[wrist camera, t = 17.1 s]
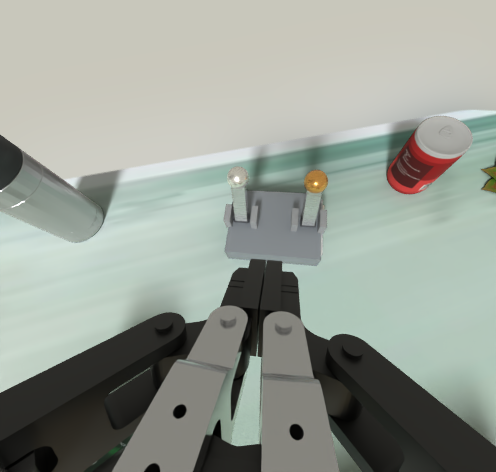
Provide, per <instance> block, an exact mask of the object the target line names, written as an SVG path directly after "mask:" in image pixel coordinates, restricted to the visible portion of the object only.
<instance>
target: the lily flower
mask: <svg viewBox="0 0 496 472" xmlns="http://www.w3.org/2000/svg"><path fill="white" fill-rule="evenodd" d="M481 170H483V171H484V172H486V173H488V174H489V175H490V176H492V177H493V178H492V179H491V180H489V181H488V183H487V184H486V185H485V188H483V189H482V190H487V191H491V192H495V193H496V167H492V168H487V169H486V170H485V169H481Z"/></svg>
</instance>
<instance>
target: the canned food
mask: <svg viewBox="0 0 496 472" xmlns="http://www.w3.org/2000/svg"><path fill="white" fill-rule="evenodd" d="M472 140H473V137H472V133H471V131H470V129H469V128H468V127H467V126H466V125H465V124H464V123H462V122H461V121H459V120H457V119H455V118H452V117H447V116H434V117H431V118H428V119H426V120H424V121H423V122H422V123H421V124H420V125H419V126H418V127H417V129H416V130H415V131H414V133H413V134H412V135H411V137H410V138H409V140H408V141H407V142H406V144H405V145H404V147H403V148H402V150H401V151H400V152H399V154H398V155H397V157H396V158H395V159H394V161H393V162H392V164H391V165H390V167H389V169H388V172H387V180H388V182H389V184H390V185H391V187H392V188H393V189H395V190H396V191H398V192H400V193H404V194H415V193H418V192H421V191H423V190H425V189H426V188H427V187H428V186H429V185H430V184H432V183H433V182H434V181H435V180H436V179H437V178H438V177H439V176H440V175H441V174H443V173H444V172H445V171H446V170H447V169H448V168H449V167H450V166H451V165H452V164H454V163H455V162H456V161H457V160H458V159H459V158H460V157H461V156H462V155H463V154H464V153H465V152H466V151H467V150H468V149H469V148H470V146H471V144H472Z"/></svg>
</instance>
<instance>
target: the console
mask: <svg viewBox="0 0 496 472" xmlns="http://www.w3.org/2000/svg"><path fill="white" fill-rule="evenodd" d="M305 195H306V193H290V192H270V191H249V190H247V198H248V213H250V220H249V223H239V222H234V206H233V202H232V205H231V204H226V208H225V214H224V223H225V225H226V227H229V228H228V234H227V240H226V247H225V253H226V254H227V256H228V258H232V259H243V260H251V258H252V259H263V260H266V262H267V260H276V261H282V263H289V264H300V265H312V266H317V265H318V263H319V262H320V260H321V256H322V254H323V234H324V232H325V230H326V228H327V210H324V205H323V200H320V204H319V208H318V213H317V217H316V227H315V228H314V227H300V217H301V216H302V213H303V207H304V201H305Z"/></svg>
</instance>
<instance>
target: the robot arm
mask: <svg viewBox="0 0 496 472" xmlns="http://www.w3.org/2000/svg"><path fill="white" fill-rule="evenodd" d="M0 211H1V212H3V213H5V214H7V215H10V216H12V217H14V218H17V219H19V220H21V221H23V222H26V223H28V224H30V225H33V226H35V227H37V228H39V229H42V230H44V231H46V232H49V233H51V234H53V235H55V236H58V237H60V238H62V239H64V240H67V241H69V242H75V243H77V242H82V241H85V240H87V239H89V238H90V237H92V236H93V235H94V234H95V233H96V232H97V231H98V230H99V228H100V227H101V225H102V222H103V211H102V209H101V207H100V206H99V205H98V204H96V203H95V202H93V201H92V200H91V199H89V198H88V197H86V196H85V195H84V194H82V193H81V192H80V191H78V190H77V189H75V188H74V187H73V186H71V185H70V184H68V183H67V182H66V181H64V180H63V179H61V178H60V177H59V176H57V175H56V174H54V173H53V172H52V171H50V170H49V169H47V168H46V167H45V166H43V165H42V164H40V163H39V162H38V161H36V160H35V159H33V158H32V157H31V156H29V155H28V154H26V153H25V152H24V151H22V150H21V149H19V148H18V147H17V146H15V145H14V144H12V143H11V142H10V141H8V140H7V139H5V138H4V137H3V136H1V135H0ZM257 345H258V357H262V359H261V378H260V416H259V444H255V445H247V446H234V445H231V442H232V434H233V428H234V424H235V420H236V416H237V412H238V408H239V403H240V399H241V395H242V391H243V387H244V383H245V379H246V375H247V368H248V365H249V359H250V356H256V352H257ZM149 367H150V369H149V370H148V371H146V372H144V373H143V374H141V375H140V376H138V377H136V378H135V379H133V380H132V381H130V382H129V383H127V384H125V385H124V386H122V387H121V388H119V389H117V390H116V391H114V392H113V393H111V394H109V393H110V392H111V391H113V390H114V389H115V388H117V387H119V386H120V385H122V384H123V383H125V382H127V381H128V380H130V379H131V378H133V377H135V376H136V375H138V374H139V373H141V372H143V371H144V370H146V369H147V368H149ZM331 431H332V432H333V434H334V435H335V436H336V438H337V439H338V440H339V441H340V443H341V444H342V445H343V447H344V448H345V449H346V451H347V452H348V453H349V455H350V456H351V457H352V458H353V460H354V461H355V462H356V464H357V465H358V466H359V468H360V469H361V470H362V472H496V447H495V446H494V445H493V444H492V443H490V442H489V441H488V440H487V439H485V438H484V437H483V436H482V435H480V434H479V433H478V432H477V431H475V430H474V429H473V428H472V427H471V426H469V425H468V424H467V423H466V422H464V421H463V420H462V419H461V418H459V417H458V416H457V415H456V414H454V413H453V412H452V411H451V410H449V409H448V408H447V407H446V406H444V405H443V404H442V403H441V402H439V401H438V400H437V399H436V398H434V397H433V396H432V395H431V394H429V393H428V392H427V391H426V390H425V389H423V388H422V387H421V386H420V385H418V384H417V383H416V382H415V381H413V380H412V379H411V378H410V377H408V376H407V375H406V374H405V373H403V372H402V371H401V370H400V369H398V368H397V367H396V366H395V365H393V364H392V363H391V362H390V361H388V360H387V359H386V358H385V357H383V356H382V355H381V354H380V353H378V352H377V351H376V350H375V349H374V348H372V347H371V346H370V345H369V344H367V343H366V342H365V341H363V340H362V339H360V338H358V337H355V336H352V335H348V334H339V335H335V336H333V337H332V338H331V339H330V341H329V340H327V339H324V338H321V337H319V336H317V335H315V334H313V333H311V332H310V331H309V330H307V329H306V328H305V326H304V325H303V323H302V321H301V316H300V303H299V289H298V279H297V277H296V276H295V275H294V273H293V272H283V271H282V261H276V260H267V265H266V260H263V259H252V258H251V261H250V264H249V268H238V269H237V270H236V271H235V272H234V273H233V274H232V277H231V280H230V282H229V285H228V288H227V290H226V293H225V295H224V298H223V301H222V303H221V306H220V307H219V308H217V309H215V310H214V311H213V312H212V313H211V314H210V316H209V318H208V319H207V320H204V321H200V322H193V323H186V324H185V320H184V318H183V317H182V316H181V315H179V314H177V313H162V314H159V315H157V316H154V317H152V318H150V319H148V320H146V321H144V322H142V323H140V324H138V325H136V326H134V327H132V328H130V329H128V330H126V331H124V332H122V333H120V334H118V335H116V336H114V337H112V338H110V339H108V340H106V341H104V342H102V343H100V344H98V345H96V346H94V347H92V348H90V349H88V350H86V351H84V352H82V353H80V354H78V355H76V356H74V357H72V358H70V359H68V360H66V361H64V362H62V363H60V364H58V365H56V366H54V367H52V368H50V369H48V370H46V371H44V372H42V373H40V374H38V375H36V376H33V377H31V378H29V379H27V380H25V381H23V382H21V383H19V384H17V385H15V386H13V387H11V388H9V389H7V390H5V391H3V392H1V393H0V472H83V471H84V470H86V469H87V468H88V467H90V466H91V465H92V464H93V463H95V462H96V461H97V460H99V459H100V458H101V457H103V456H104V455H105V454H106V453H108V452H109V451H110V450H112V449H113V448H114V447H116V446H117V445H118V444H119V443H121V442H122V441H123V440H125V439H126V438H127V437H129V436H130V435H131V434H132V433H134V434H133V436H132V437H131V439H130V441H129V443H128V444H127V446H125V447H123V448H122V449H120V450H119V451H117V452H116V453H114V454H113V455H112V456H111V457H109V458H108V459H107V460H105V461H104V462H103V463H102V464H101V465H99V466H98V467H97V468H96V469H95V470H93V471H92V472H339V467H338V462H337V458H336V453H335V448H334V444H333V439H332V434H331Z"/></svg>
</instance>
